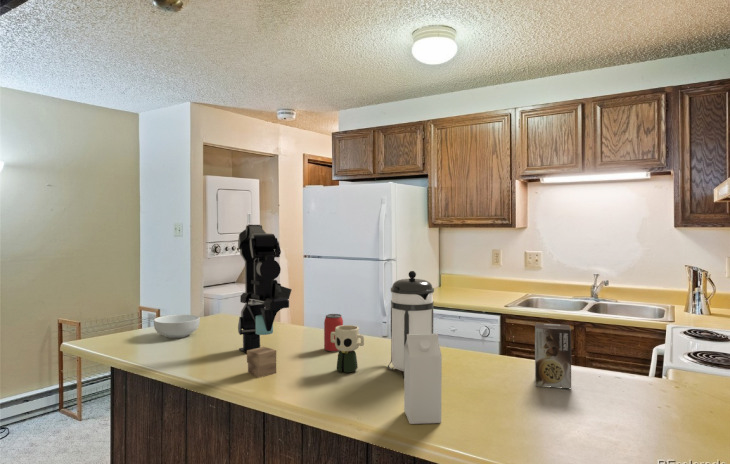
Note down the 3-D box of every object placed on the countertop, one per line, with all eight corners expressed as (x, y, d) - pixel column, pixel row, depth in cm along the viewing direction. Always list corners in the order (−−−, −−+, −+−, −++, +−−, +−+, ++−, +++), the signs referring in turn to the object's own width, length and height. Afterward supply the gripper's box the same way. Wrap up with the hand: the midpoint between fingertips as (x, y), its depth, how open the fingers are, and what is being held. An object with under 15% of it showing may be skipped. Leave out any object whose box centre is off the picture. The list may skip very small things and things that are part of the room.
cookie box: (569, 382, 128) (569, 324, 128) (571, 390, 122) (572, 329, 122) (534, 378, 131) (534, 322, 131) (534, 386, 125) (535, 326, 125)
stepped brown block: (247, 362, 136) (246, 350, 136) (263, 358, 140) (263, 346, 140) (259, 366, 132) (259, 354, 132) (276, 361, 137) (276, 350, 136)
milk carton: (404, 411, 108) (404, 330, 108) (434, 410, 109) (434, 330, 109) (409, 424, 101) (409, 338, 101) (441, 423, 102) (441, 337, 102)
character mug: (325, 372, 137) (325, 328, 137) (336, 365, 144) (336, 323, 143) (358, 376, 133) (358, 331, 133) (368, 369, 139) (368, 326, 139)
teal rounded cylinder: (252, 332, 137) (252, 315, 137) (267, 330, 140) (267, 313, 140) (261, 335, 133) (260, 318, 133) (276, 333, 136) (276, 316, 136)
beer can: (344, 347, 164) (344, 313, 164) (341, 352, 158) (341, 317, 157) (326, 346, 165) (326, 313, 165) (322, 352, 158) (322, 317, 158)
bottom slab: (248, 373, 137) (248, 361, 137) (266, 369, 141) (266, 357, 141) (257, 378, 132) (257, 366, 132) (276, 374, 136) (276, 362, 136)
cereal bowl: (190, 341, 172) (189, 322, 172) (145, 341, 173) (145, 322, 172) (206, 331, 189) (206, 313, 189) (165, 330, 190) (165, 313, 189)
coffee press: (444, 366, 142) (444, 269, 141) (428, 383, 128) (429, 274, 127) (391, 359, 149) (391, 267, 149) (371, 374, 135) (371, 271, 134)
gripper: (304, 277, 135) (305, 330, 135) (271, 272, 149) (271, 320, 149) (271, 280, 127) (271, 336, 128) (239, 275, 141) (239, 326, 141)
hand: (264, 329), depth 137 cm, fingers closed on teal rounded cylinder, 5 cm apart
